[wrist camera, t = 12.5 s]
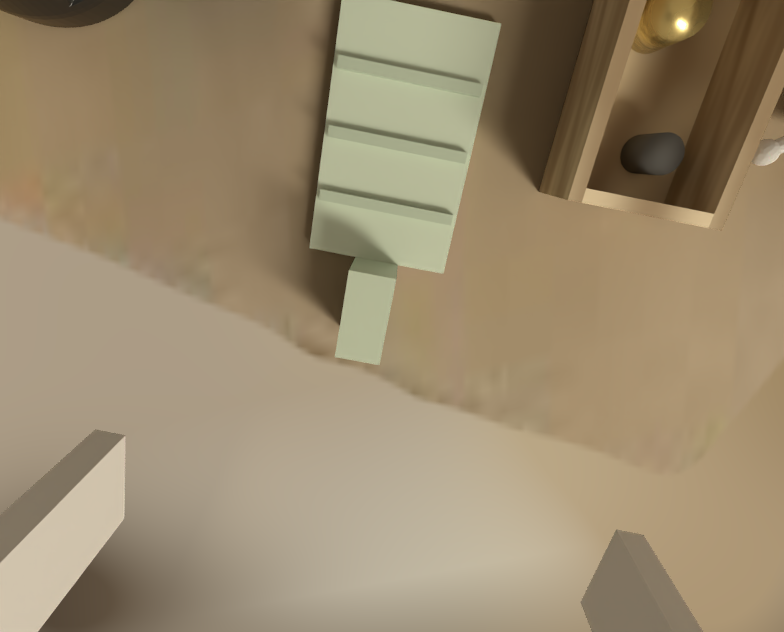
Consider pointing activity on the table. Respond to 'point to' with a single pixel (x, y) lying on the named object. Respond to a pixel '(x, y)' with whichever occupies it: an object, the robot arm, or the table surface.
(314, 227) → the ridged block with tab
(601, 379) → the table surface
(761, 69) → the tub
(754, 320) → the table surface
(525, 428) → the table surface
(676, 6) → the brass weight
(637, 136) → the rubber stopper
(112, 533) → the robot arm
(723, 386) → the table surface
